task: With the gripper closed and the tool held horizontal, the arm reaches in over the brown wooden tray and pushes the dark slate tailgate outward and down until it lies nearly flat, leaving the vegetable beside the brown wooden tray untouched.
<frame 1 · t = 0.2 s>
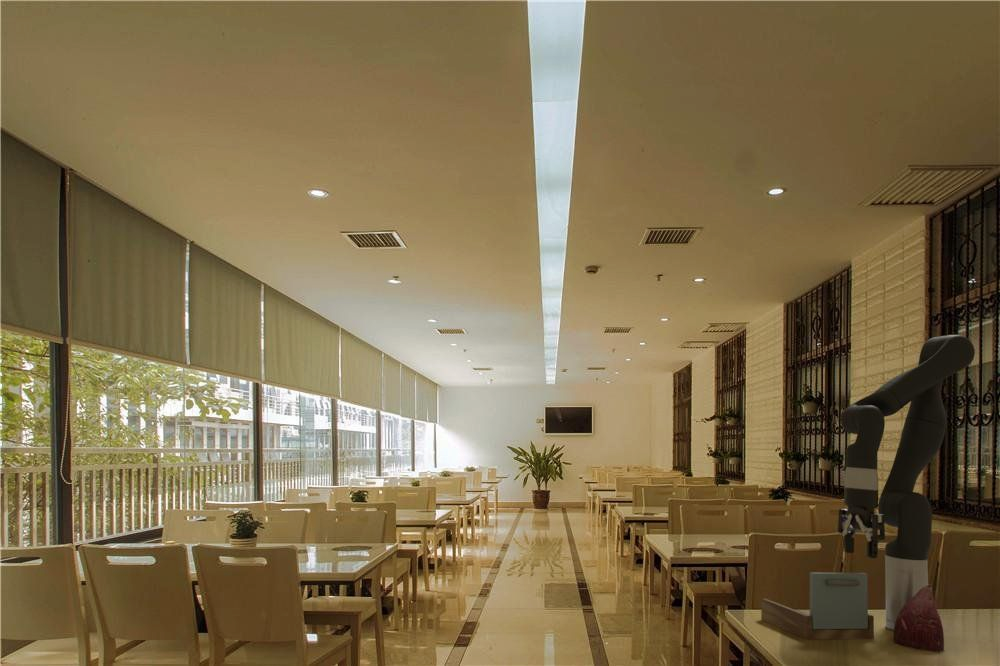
hand: (860, 555, 189), 18 cm above the table, tool pointing down, fingers open, 8 cm apart
tailgate: (840, 601, 178), point 8 cm above the table, hinge at 0.0°
vegetable: (918, 646, 176), on the table
brown wooden tray: (815, 628, 186), on the table
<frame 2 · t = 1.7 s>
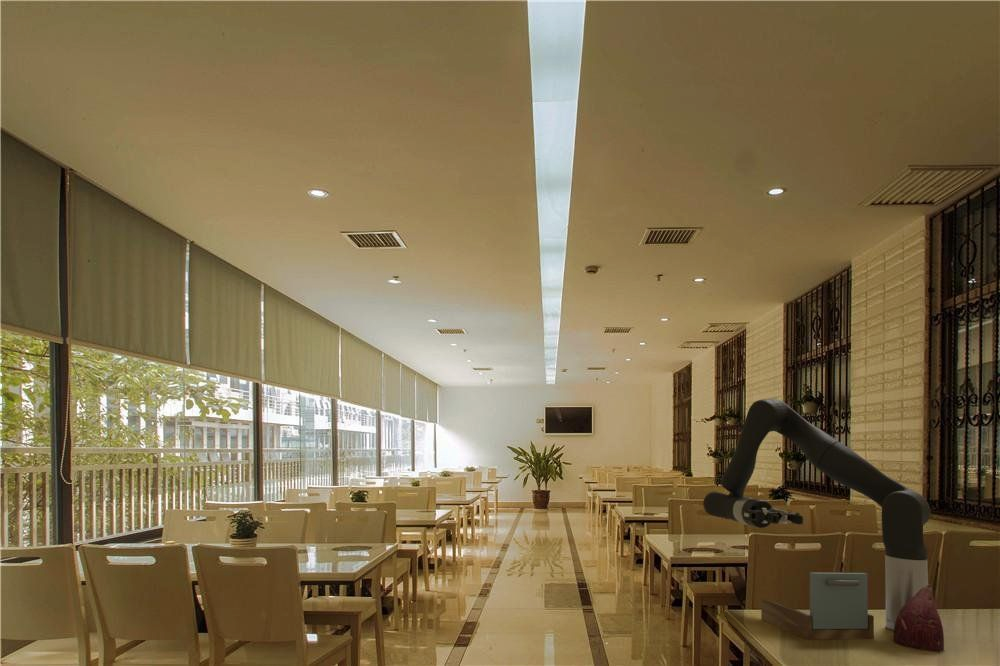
hand: (789, 519, 199), 24 cm above the table, tool horizontal, fingers open, 6 cm apart
nothing on the table moved.
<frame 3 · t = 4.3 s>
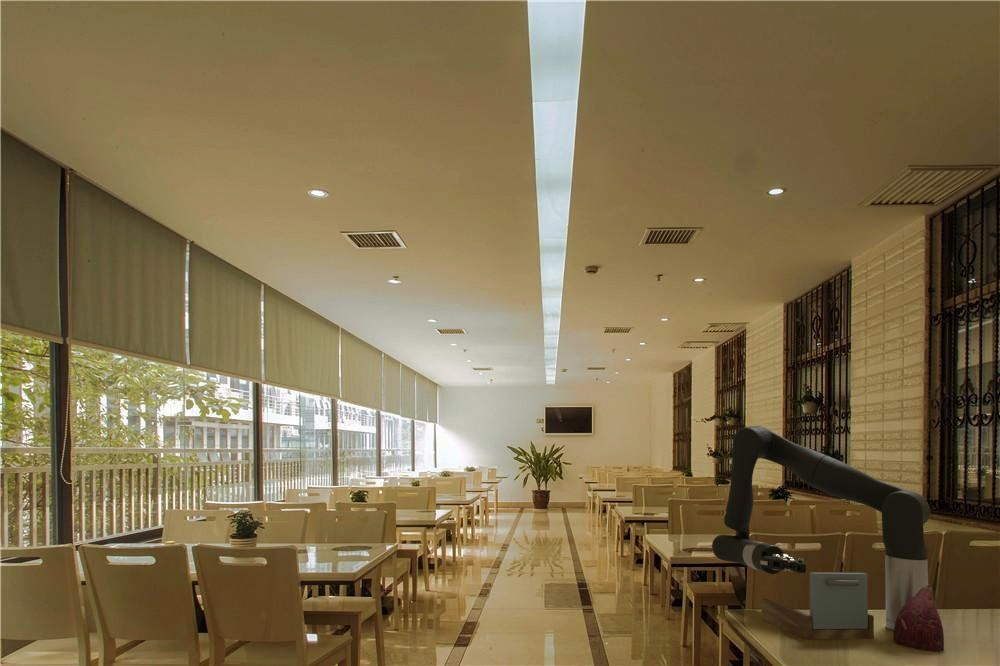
hand: (803, 568, 192), 13 cm above the table, tool horizontal, fingers closed
nothing on the table moved.
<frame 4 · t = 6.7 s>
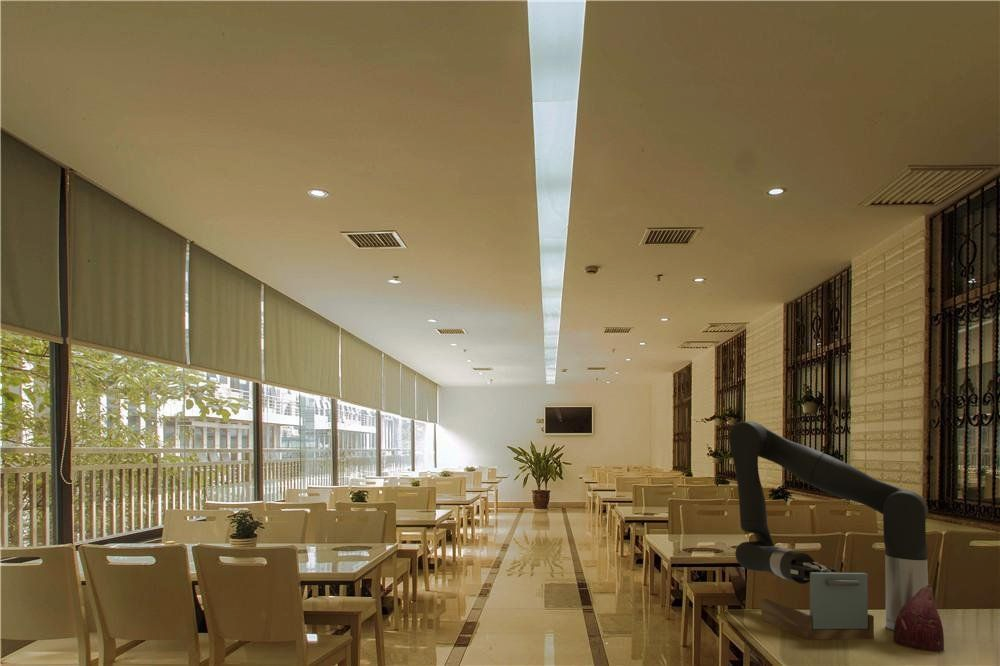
hand: (837, 578, 180), 13 cm above the table, tool horizontal, fingers closed
tailgate: (840, 601, 178), point 8 cm above the table, hinge at 0.1°, touching gripper
everything else where it was.
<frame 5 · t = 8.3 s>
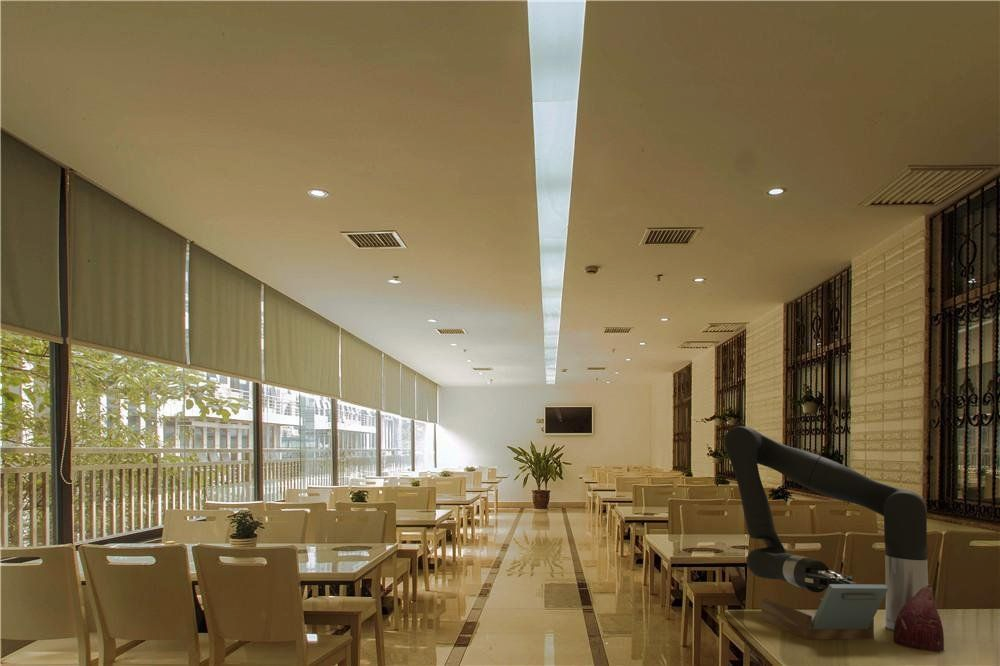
hand: (854, 588, 174), 12 cm above the table, tool horizontal, fingers closed
tailgate: (850, 609, 175), point 7 cm above the table, hinge at 32.3°, touching gripper
everything else where it was.
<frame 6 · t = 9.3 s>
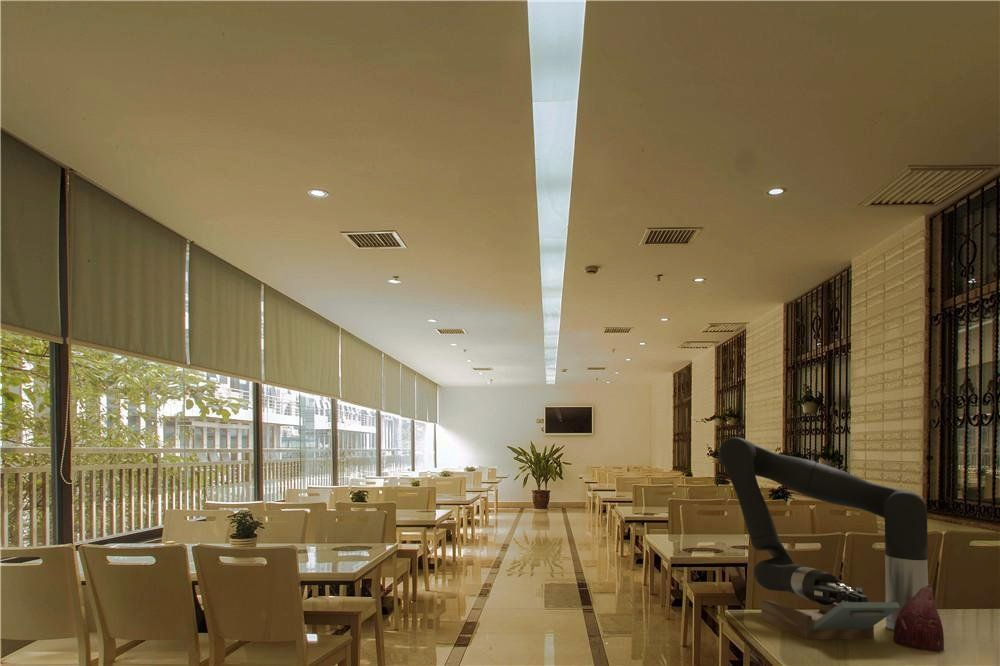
hand: (864, 601, 171), 10 cm above the table, tool horizontal, fingers closed
tailgate: (856, 619, 173), point 6 cm above the table, hinge at 54.9°, touching gripper
everything else where it was.
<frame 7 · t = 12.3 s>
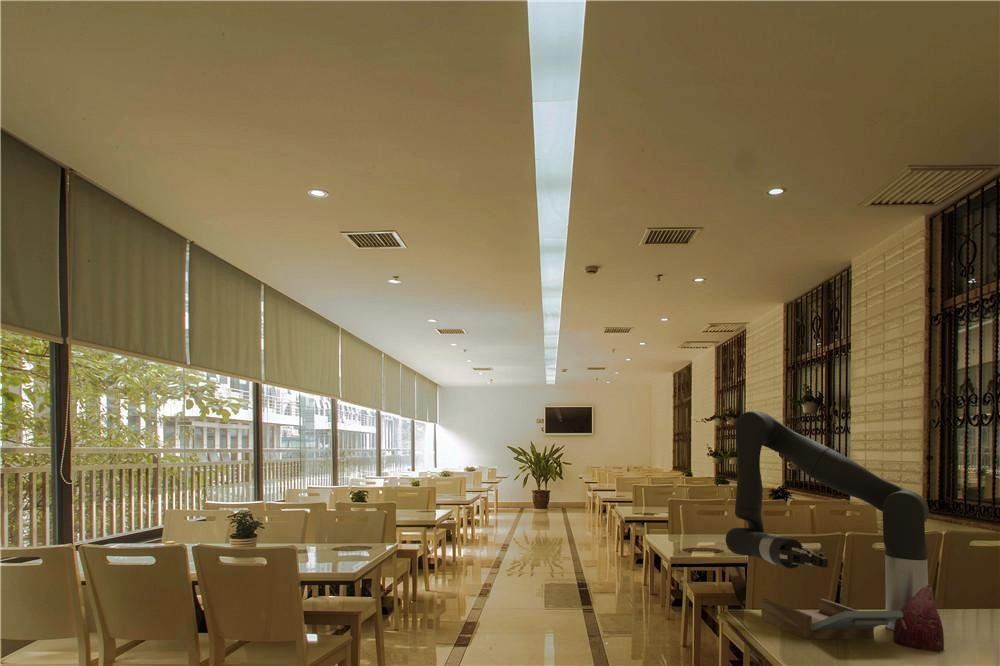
hand: (825, 562, 184), 16 cm above the table, tool horizontal, fingers closed
tailgate: (857, 623, 172), point 5 cm above the table, hinge at 63.8°
everything else where it was.
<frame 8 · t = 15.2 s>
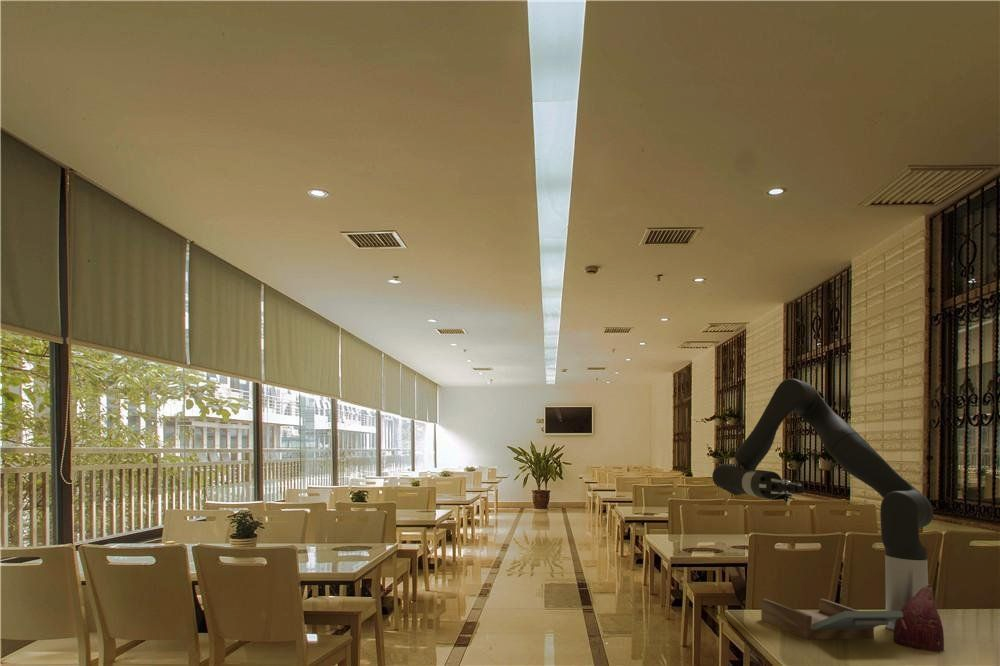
hand: (800, 489, 199), 32 cm above the table, tool horizontal, fingers closed
nothing on the table moved.
at the end: tailgate at +64° (first picture: +0°); vegetable moved 0.3 cm from its start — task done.
